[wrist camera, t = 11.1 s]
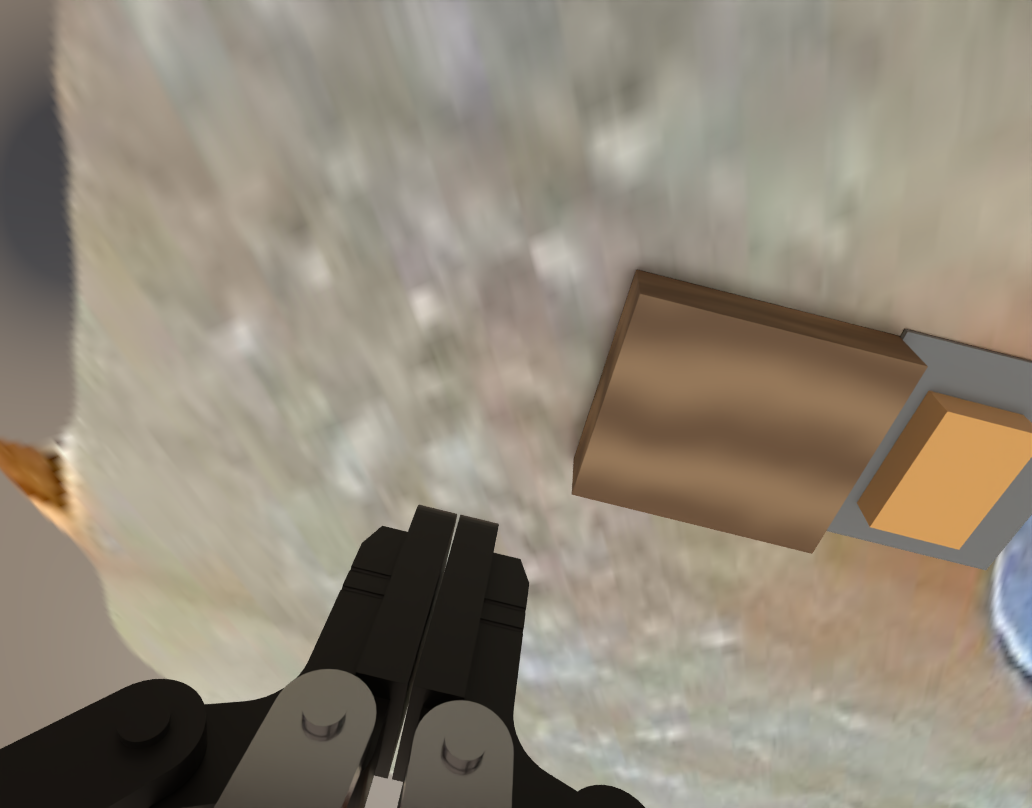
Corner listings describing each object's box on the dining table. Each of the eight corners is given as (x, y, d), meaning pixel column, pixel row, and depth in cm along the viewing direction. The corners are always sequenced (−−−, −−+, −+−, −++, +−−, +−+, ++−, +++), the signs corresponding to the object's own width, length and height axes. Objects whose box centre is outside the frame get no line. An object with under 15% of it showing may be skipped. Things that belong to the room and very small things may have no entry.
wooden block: (636, 269, 39) (640, 293, 35) (899, 336, 39) (928, 366, 36) (573, 458, 46) (571, 494, 42) (796, 513, 46) (812, 553, 43)
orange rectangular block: (1047, 437, 38) (1023, 414, 40) (947, 411, 38) (928, 390, 40) (958, 549, 43) (941, 524, 45) (869, 527, 43) (856, 502, 45)
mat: (905, 328, 39) (907, 331, 38) (1129, 385, 39) (1134, 389, 39) (794, 519, 46) (795, 523, 46) (983, 566, 47) (985, 570, 46)
